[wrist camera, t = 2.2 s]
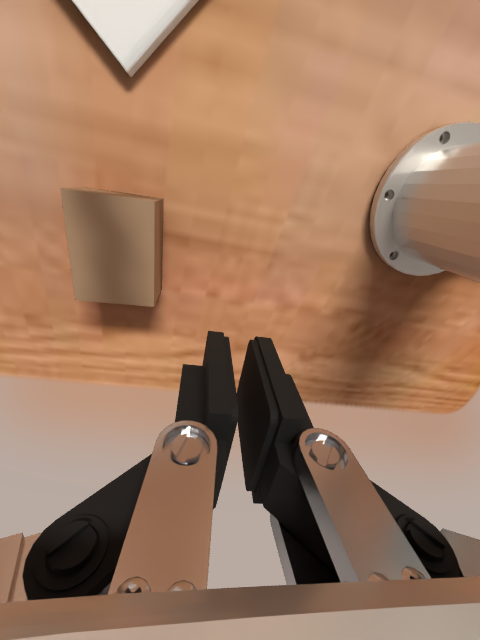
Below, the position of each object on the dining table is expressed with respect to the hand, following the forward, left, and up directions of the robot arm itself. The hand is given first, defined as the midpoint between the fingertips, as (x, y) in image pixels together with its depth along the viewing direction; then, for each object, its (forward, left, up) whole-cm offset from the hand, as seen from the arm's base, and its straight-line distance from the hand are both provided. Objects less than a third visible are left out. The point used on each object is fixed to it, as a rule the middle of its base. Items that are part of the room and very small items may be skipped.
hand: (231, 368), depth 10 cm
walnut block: (+8, 0, -17) cm, 19 cm away
